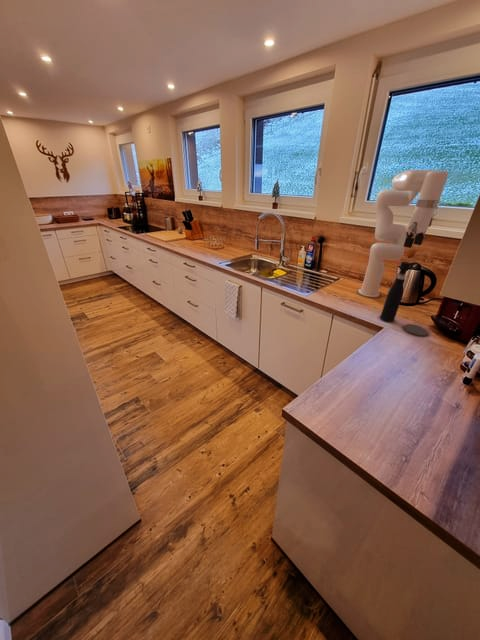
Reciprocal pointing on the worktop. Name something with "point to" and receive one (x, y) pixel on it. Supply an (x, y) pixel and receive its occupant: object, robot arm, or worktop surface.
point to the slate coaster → (415, 330)
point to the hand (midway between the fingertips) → (412, 245)
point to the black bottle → (395, 295)
